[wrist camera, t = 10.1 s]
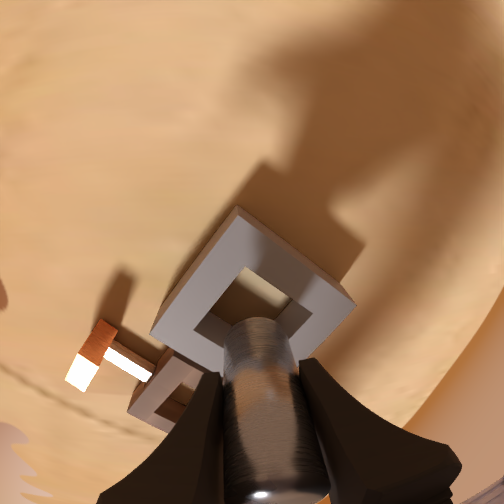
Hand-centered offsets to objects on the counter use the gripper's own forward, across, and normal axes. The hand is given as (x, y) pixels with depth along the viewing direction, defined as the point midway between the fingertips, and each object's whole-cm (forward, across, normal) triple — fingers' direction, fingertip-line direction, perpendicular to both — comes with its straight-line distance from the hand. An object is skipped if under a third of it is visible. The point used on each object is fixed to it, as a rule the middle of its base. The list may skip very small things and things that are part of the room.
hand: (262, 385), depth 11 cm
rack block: (+8, 0, 0) cm, 8 cm away
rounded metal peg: (+3, 0, 0) cm, 3 cm away
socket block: (+8, +5, +7) cm, 12 cm away
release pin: (+8, +9, +3) cm, 12 cm away
